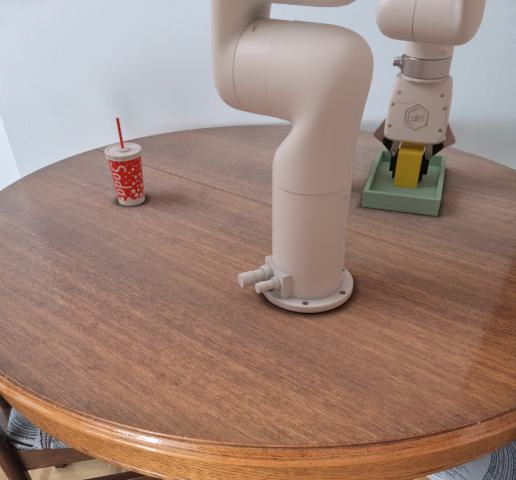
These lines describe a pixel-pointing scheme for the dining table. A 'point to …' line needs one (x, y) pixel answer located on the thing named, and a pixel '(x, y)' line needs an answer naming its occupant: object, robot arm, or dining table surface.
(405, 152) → the yellow rectangular block
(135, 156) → the beverage cup
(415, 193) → the pan
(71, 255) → the dining table surface
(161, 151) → the dining table surface
